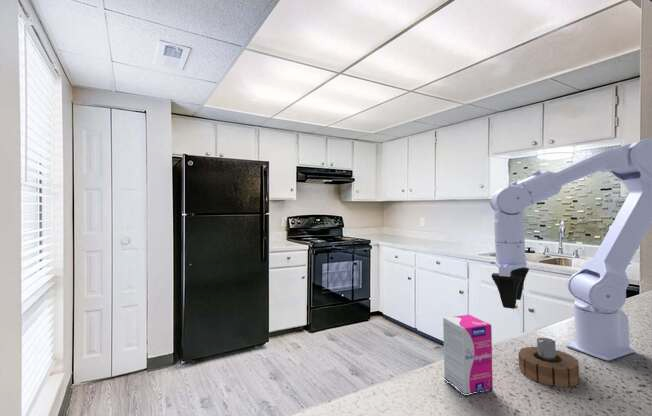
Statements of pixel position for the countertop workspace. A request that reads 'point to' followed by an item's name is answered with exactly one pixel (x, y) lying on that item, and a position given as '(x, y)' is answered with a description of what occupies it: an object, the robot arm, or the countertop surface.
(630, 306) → the countertop surface
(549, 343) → the metal peg
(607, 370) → the countertop surface
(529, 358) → the walnut bead
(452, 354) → the supplement box
